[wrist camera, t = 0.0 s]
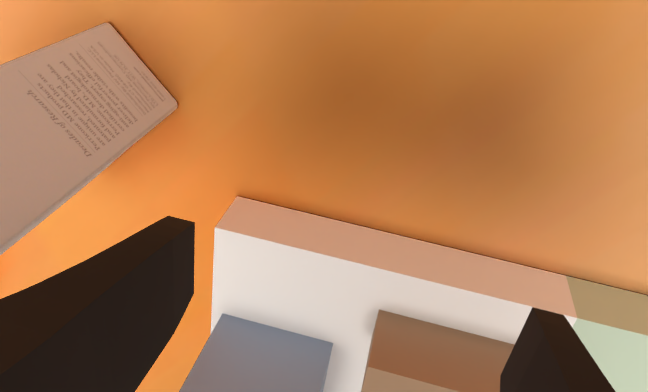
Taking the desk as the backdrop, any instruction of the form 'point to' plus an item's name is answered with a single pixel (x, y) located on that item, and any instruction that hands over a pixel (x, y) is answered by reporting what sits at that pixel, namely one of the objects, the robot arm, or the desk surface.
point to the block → (258, 360)
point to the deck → (409, 303)
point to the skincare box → (69, 121)
